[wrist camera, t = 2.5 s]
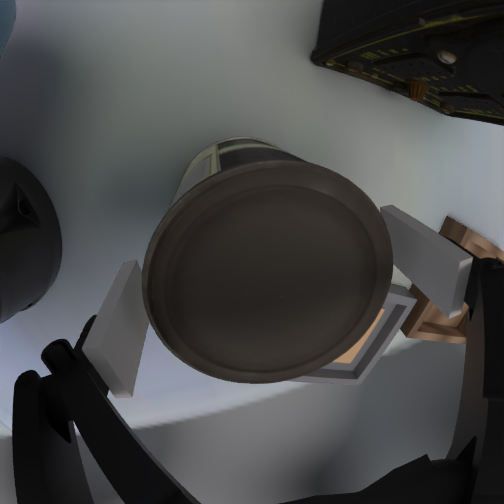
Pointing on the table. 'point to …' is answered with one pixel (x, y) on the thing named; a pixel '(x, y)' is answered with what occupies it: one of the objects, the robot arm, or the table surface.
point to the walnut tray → (425, 312)
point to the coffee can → (264, 265)
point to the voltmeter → (421, 51)
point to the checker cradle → (367, 343)
